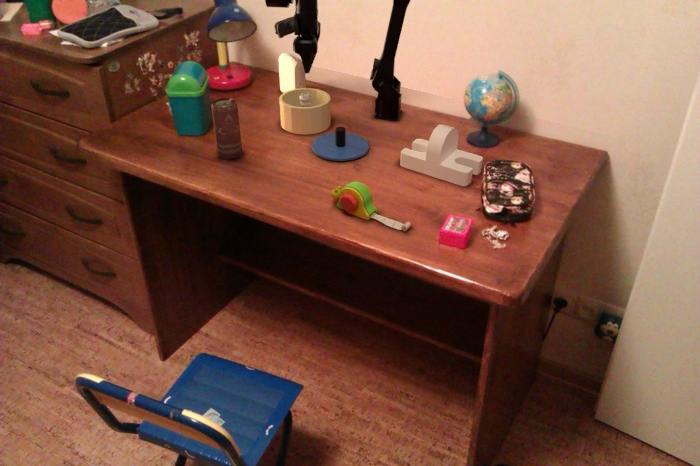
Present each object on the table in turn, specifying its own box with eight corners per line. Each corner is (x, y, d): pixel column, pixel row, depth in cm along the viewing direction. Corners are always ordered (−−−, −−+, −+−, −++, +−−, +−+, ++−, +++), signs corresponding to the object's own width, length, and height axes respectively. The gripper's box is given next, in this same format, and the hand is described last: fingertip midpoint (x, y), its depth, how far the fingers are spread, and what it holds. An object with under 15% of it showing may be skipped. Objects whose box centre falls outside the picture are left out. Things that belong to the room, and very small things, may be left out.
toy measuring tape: (341, 195, 136) (341, 169, 132) (416, 223, 127) (418, 197, 123) (324, 208, 132) (323, 182, 128) (400, 238, 123) (402, 211, 119)
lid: (364, 135, 161) (365, 115, 158) (372, 161, 149) (373, 140, 146) (310, 137, 160) (309, 117, 156) (313, 164, 148) (313, 143, 144)
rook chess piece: (316, 119, 167) (315, 92, 163) (310, 126, 164) (309, 98, 159) (301, 117, 168) (300, 90, 164) (295, 123, 165) (293, 96, 160)
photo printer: (308, 99, 180) (306, 58, 173) (295, 102, 178) (293, 61, 171) (290, 88, 187) (288, 48, 179) (278, 91, 185) (275, 51, 177)
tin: (328, 112, 172) (328, 87, 168) (332, 133, 161) (332, 107, 157) (280, 114, 171) (278, 88, 167) (281, 135, 160) (279, 109, 156)
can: (247, 151, 153) (242, 99, 145) (233, 162, 148) (227, 109, 140) (227, 146, 155) (221, 94, 147) (212, 157, 150) (205, 104, 142)
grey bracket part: (465, 187, 140) (471, 145, 133) (398, 165, 148) (400, 125, 141) (482, 170, 146) (488, 129, 140) (416, 150, 154) (420, 111, 148)
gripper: (279, -2, 164) (282, 54, 173) (271, 18, 149) (275, 79, 158) (320, -2, 164) (321, 55, 173) (316, 19, 149) (317, 79, 158)
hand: (308, 66), depth 165 cm, fingers open, 9 cm apart
